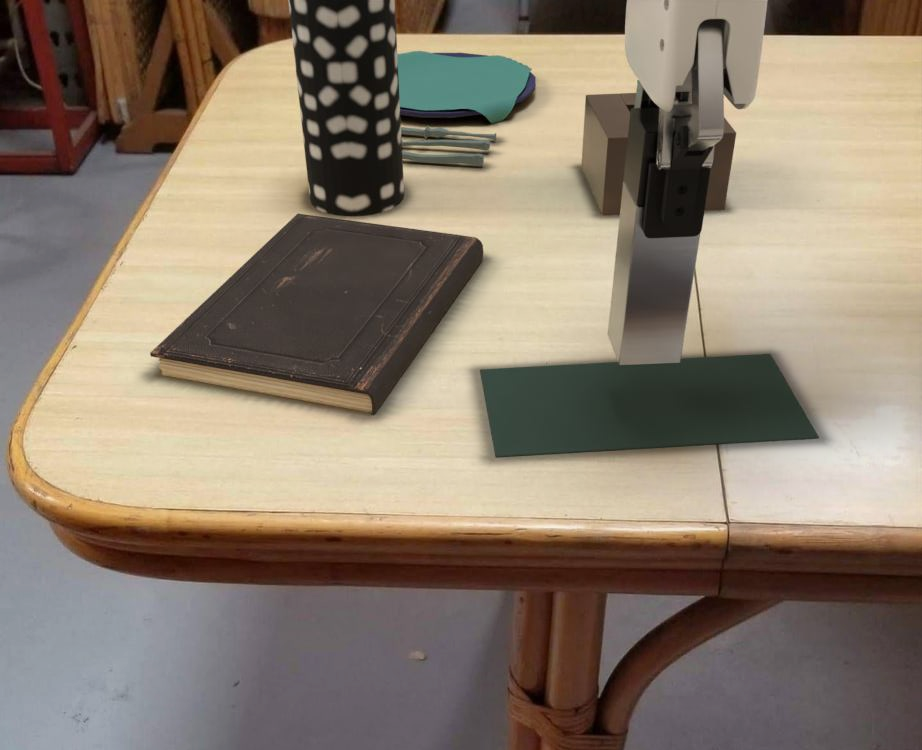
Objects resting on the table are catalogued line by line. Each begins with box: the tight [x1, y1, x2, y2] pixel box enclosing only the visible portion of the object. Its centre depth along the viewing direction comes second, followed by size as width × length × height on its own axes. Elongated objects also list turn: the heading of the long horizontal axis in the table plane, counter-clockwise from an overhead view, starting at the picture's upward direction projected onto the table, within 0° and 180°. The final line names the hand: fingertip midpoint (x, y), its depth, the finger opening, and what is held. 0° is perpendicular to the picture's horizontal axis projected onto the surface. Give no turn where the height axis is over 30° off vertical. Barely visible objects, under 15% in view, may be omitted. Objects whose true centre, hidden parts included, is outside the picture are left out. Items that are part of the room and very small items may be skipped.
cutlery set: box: [397, 50, 537, 167], centre depth 110 cm, size 20×30×2 cm, turn 168°
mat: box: [479, 353, 820, 459], centre depth 69 cm, size 20×10×1 cm, turn 95°
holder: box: [580, 91, 737, 216], centre depth 93 cm, size 11×11×7 cm
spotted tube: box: [287, 0, 405, 217], centre depth 88 cm, size 8×8×20 cm
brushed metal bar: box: [607, 107, 702, 366], centre depth 62 cm, size 4×4×14 cm
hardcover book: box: [149, 213, 484, 416], centre depth 78 cm, size 16×23×2 cm
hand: (662, 214), depth 61 cm, fingers closed on brushed metal bar, 3 cm apart
